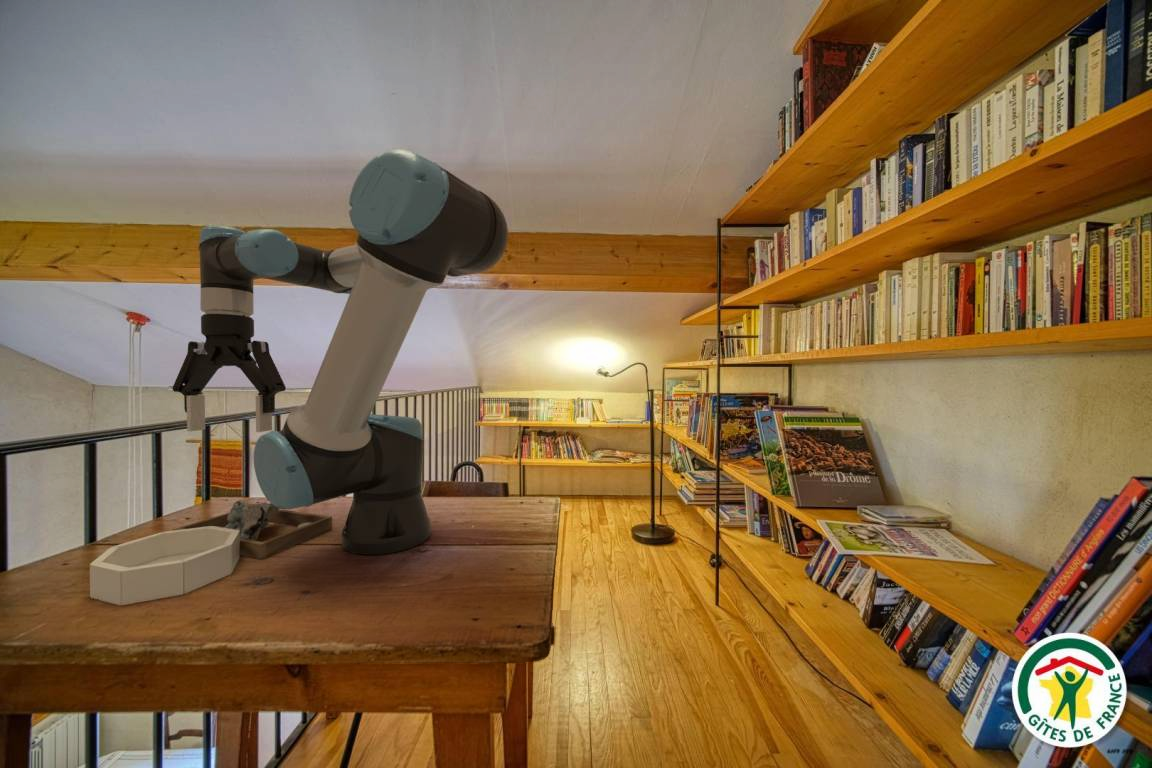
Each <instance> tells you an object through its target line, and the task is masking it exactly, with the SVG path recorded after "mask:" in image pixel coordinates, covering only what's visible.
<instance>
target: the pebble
mask: <svg viewBox="0 0 1152 768" xmlns="http://www.w3.org/2000/svg"><path fill="white" fill-rule="evenodd" d="M310 523H313V522H308V523H303V524H300V525H298V526H296V527H297V528H300V527H302V526H305V525H308V524H310ZM297 528H296V529H297Z"/></svg>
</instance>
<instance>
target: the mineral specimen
mask: <svg viewBox="0 0 1152 768" xmlns="http://www.w3.org/2000/svg"><path fill="white" fill-rule="evenodd" d="M279 509H280V508H278V507H276V506H274V505H273V504H272V503H271V502H269V503H267V502H266V501H265V502H259V503H249V502H247V501H246V500H242V499H240V500H238V501H235V502H233V504H232V507H231V509H230V510H229V511H230V514H229V515H228V517H227V520H228V522H229V524H228V525H226V527H224V528H228V529H234V530H239V531H240V538H242V539H248V540H253V541H258V537H259V535H260V531H261V530H263V529H264V528H265V527H267V526H268V525H269V523H270V522H269V521H270V519H271V518H272V517H274V516H275V515H276V514H277V512H278V510H279Z"/></svg>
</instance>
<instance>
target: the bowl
mask: <svg viewBox="0 0 1152 768" xmlns="http://www.w3.org/2000/svg"><path fill="white" fill-rule="evenodd" d="M240 557H241V556H240V531H239V530H234V529H228V528H222V527H216V526H207V527H199V528H191V529H182V530H174V529H173V530H166V531H161V532H158V533H157V532H156V533H155V534H151V535H147V536H143V537H141V538H137V539H134V540H131V541H127V542H123V543H120V544H118V545H114V546H111V547H109V548H108V549H107V550H105V551H103V552H102V554H100V555H99V556H98V557H97V558H96V559H94V560H93V561H92V562H91V563H89V598H90V597H91V598H90V599H93V598H94V599H93V600H97V599H98V601H101V602H105V603H109V604H113V605H116V606H126V605H132V604H137V603H143V602H147V601H154V600H160V599H165V598H171V597H176V596H182V595H186V594H188V593H191V592H193V591H196V590H197V589H199V588H202V587H204V586H206V585H209V584H211V583H213V582H216V581H218V580H221V579H223V578H225V577H227V576H229V575H231V574H233V572H234V570H235V568H236V566H237V565H238V563H239V560H240Z"/></svg>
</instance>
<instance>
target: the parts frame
mask: <svg viewBox="0 0 1152 768" xmlns="http://www.w3.org/2000/svg"><path fill="white" fill-rule="evenodd" d="M229 514H230V512H226V513H224V514H219V515H216V516H213V517H210V518H207V519H203V520H199V521H195V522H192V523H190V524H186V525H183V526H180V527H176V528H174V529H173V531H174V530H182V529H191V528H199V527H207V526H216V527H222V528H224V527H226V525H228V524H229V522H228V520H227V517H228V515H229ZM308 522H313V523H310V524H308V525H305V526H302V527H300V528H295V529H293V530H290V531H287V532H285V533H282V534H280V535H277V536H274V537H272V538H269V539H267V540H265V541H258V540H256V541H253V540H248V539H242V538H240V555H242V556H241V557H244V556H246V558H251V559H255V560H265V559H266V558H269V557H271V556H273V555H276V554H278V553H280V552H282V551H285V550H287V549H290V548H291V547H295V546H296V545H299V544H301V543H303V541H304V542H305V541H306V542H307V541H308V540H311V539H313V538H315V537H317V536H320V535H322V534H325V533H327V532H330V531H331V530H333V516H330V515H329V516H328V515H322V514H315V513H309V512H301V511H295V510H290V509H281V508H279V510H278V512H277V514H276V515H275V516H274V517H272V518H271V519H270V521H269V523H276V524H284V525H288V526H295V527H297V526H298V525H300V524H303V523H308Z"/></svg>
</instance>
